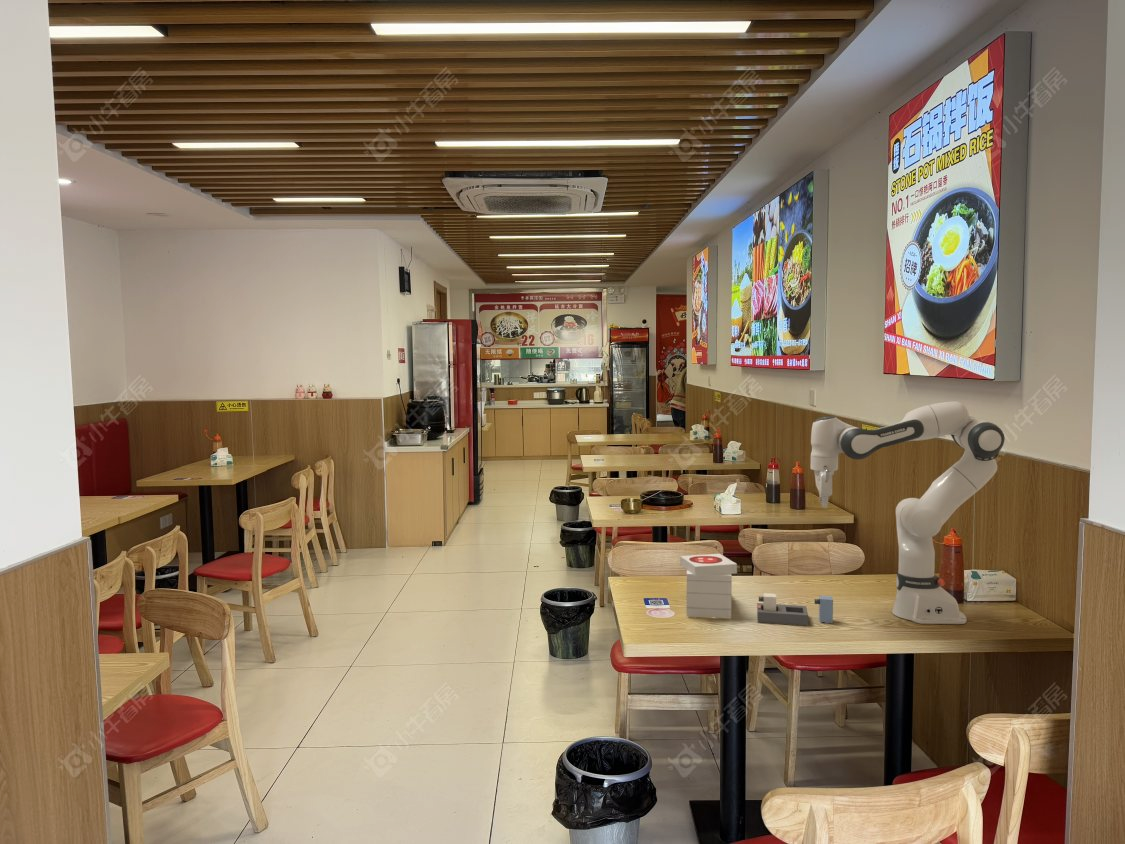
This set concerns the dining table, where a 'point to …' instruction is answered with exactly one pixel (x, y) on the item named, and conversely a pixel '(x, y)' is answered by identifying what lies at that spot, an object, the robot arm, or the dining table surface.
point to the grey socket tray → (783, 615)
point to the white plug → (768, 602)
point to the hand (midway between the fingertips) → (823, 505)
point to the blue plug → (825, 608)
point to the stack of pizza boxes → (708, 585)
